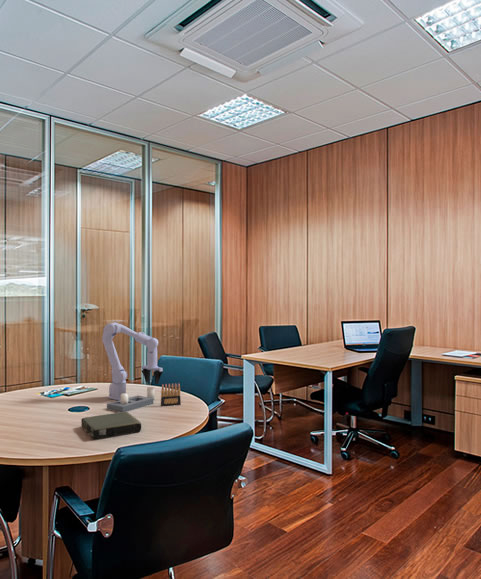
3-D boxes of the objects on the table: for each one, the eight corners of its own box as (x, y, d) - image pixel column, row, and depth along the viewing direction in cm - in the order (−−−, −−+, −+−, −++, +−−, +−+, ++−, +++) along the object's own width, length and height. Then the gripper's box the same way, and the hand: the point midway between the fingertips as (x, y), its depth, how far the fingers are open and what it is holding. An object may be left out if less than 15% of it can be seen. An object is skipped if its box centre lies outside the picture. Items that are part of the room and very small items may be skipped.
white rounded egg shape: (145, 399, 249) (145, 387, 249) (150, 398, 253) (150, 386, 253) (150, 400, 247) (150, 388, 247) (155, 399, 251) (155, 387, 251)
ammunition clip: (161, 406, 235) (161, 384, 235) (160, 405, 237) (160, 383, 237) (180, 405, 239) (180, 383, 239) (180, 404, 240) (180, 382, 240)
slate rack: (106, 409, 229) (107, 394, 229) (137, 400, 247) (138, 387, 247) (122, 412, 222) (122, 398, 222) (153, 403, 241) (153, 390, 241)
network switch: (75, 429, 196) (75, 418, 196) (124, 420, 211) (124, 409, 211) (95, 443, 178) (95, 430, 178) (147, 431, 193) (147, 420, 193)
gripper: (166, 359, 251) (166, 383, 251) (148, 357, 259) (147, 380, 259) (157, 361, 245) (157, 385, 245) (139, 358, 253) (139, 382, 253)
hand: (152, 382), depth 251 cm, fingers open, 7 cm apart
